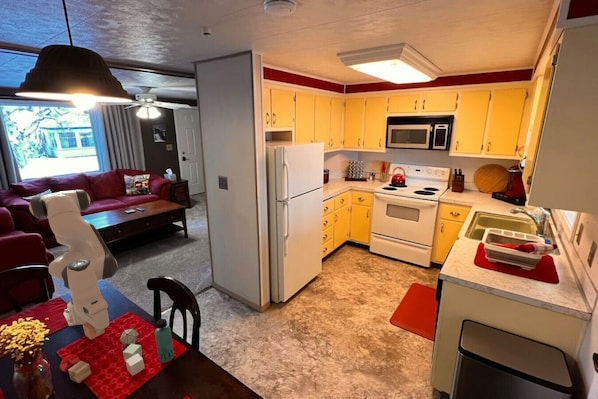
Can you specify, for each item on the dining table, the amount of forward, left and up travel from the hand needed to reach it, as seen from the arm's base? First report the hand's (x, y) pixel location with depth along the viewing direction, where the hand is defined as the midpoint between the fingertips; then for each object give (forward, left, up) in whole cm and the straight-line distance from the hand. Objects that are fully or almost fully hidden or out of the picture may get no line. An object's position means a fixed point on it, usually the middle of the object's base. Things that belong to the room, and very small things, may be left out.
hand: (94, 330), depth 118 cm
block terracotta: (0, 0, -2) cm, 2 cm away
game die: (-6, +15, -21) cm, 27 cm away
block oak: (-6, -6, -21) cm, 23 cm away
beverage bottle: (+17, +18, -21) cm, 33 cm away
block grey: (+10, +8, -21) cm, 25 cm away
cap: (-15, -6, -21) cm, 27 cm away
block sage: (+3, +11, -21) cm, 24 cm away
